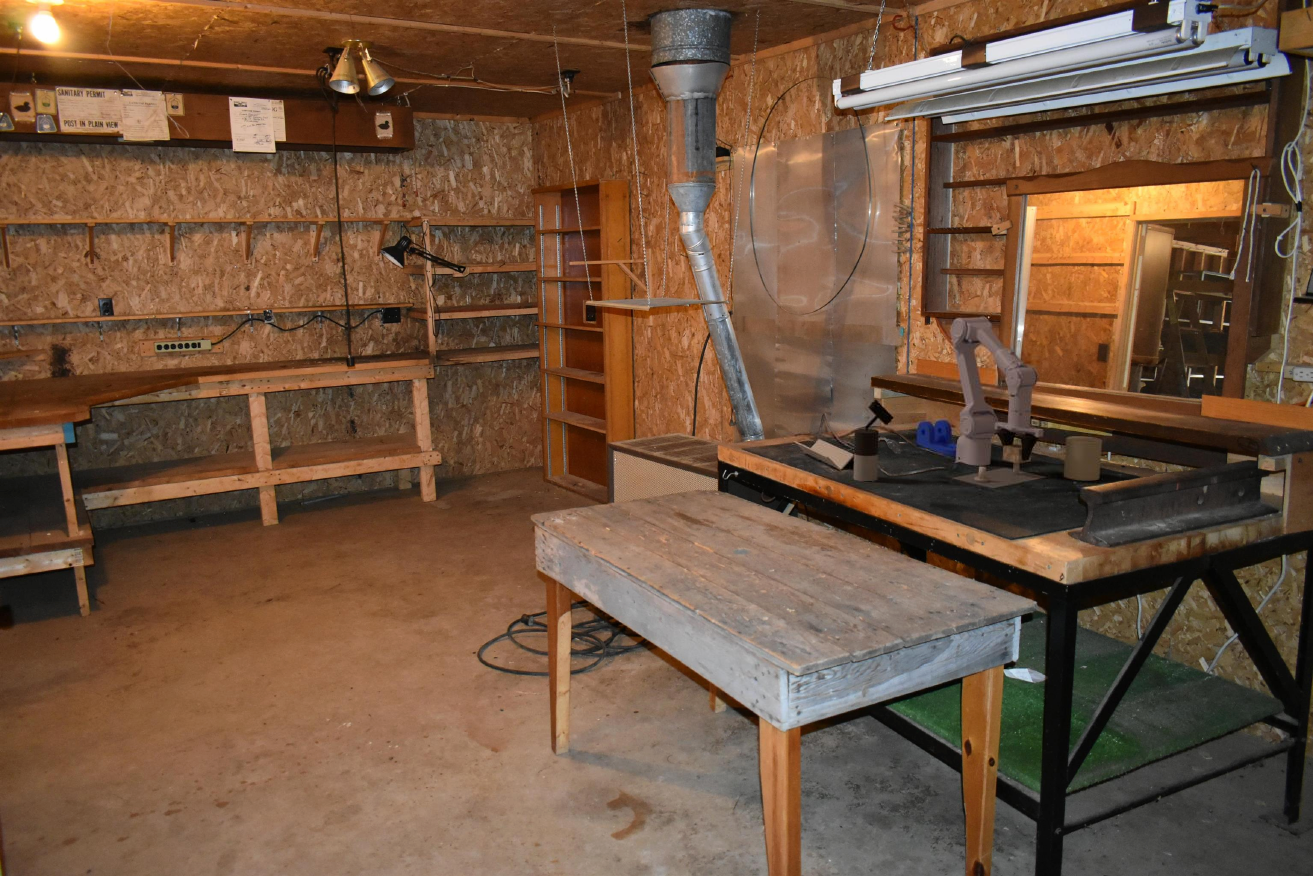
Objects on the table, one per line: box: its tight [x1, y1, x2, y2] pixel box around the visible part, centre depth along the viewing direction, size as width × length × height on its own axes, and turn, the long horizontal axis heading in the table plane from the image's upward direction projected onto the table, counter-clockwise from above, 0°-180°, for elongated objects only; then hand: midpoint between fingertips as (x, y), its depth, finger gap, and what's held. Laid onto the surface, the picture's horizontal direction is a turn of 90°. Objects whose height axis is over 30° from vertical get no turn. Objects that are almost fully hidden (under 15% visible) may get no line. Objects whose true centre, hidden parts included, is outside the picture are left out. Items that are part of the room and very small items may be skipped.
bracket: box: [916, 419, 957, 457], centre depth 295 cm, size 18×8×9 cm, turn 18°
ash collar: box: [1002, 443, 1032, 464], centre depth 258 cm, size 5×5×4 cm
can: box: [1063, 435, 1103, 482], centre depth 254 cm, size 9×9×12 cm
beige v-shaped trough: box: [793, 438, 854, 471], centre depth 284 cm, size 12×25×6 cm
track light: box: [853, 399, 894, 482], centre depth 259 cm, size 6×17×20 cm
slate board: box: [951, 462, 1046, 493], centre depth 255 cm, size 14×22×5 cm, turn 121°
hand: (1016, 458), depth 258 cm, fingers closed on ash collar, 5 cm apart
